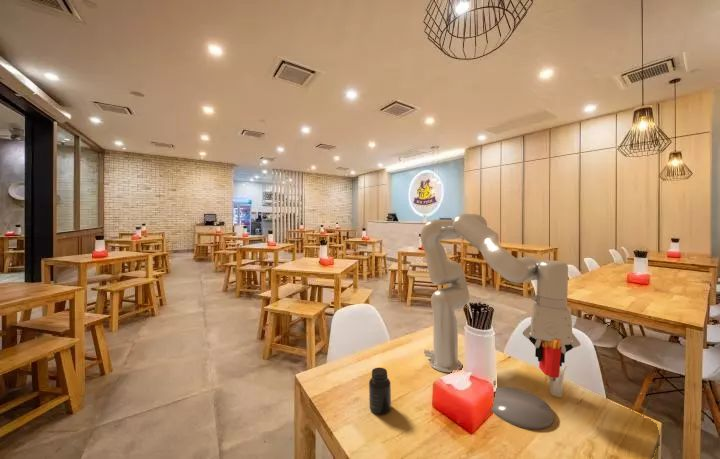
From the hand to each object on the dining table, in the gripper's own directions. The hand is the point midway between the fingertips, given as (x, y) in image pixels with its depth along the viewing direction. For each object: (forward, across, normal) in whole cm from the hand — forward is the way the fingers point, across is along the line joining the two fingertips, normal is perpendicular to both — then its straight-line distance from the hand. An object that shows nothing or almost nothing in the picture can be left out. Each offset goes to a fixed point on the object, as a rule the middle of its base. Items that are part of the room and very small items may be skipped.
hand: (549, 361), depth 84 cm
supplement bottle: (+18, -45, -24) cm, 54 cm away
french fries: (+4, 0, 0) cm, 4 cm away
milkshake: (+17, +3, +14) cm, 22 cm away
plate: (+17, -8, -1) cm, 18 cm away
